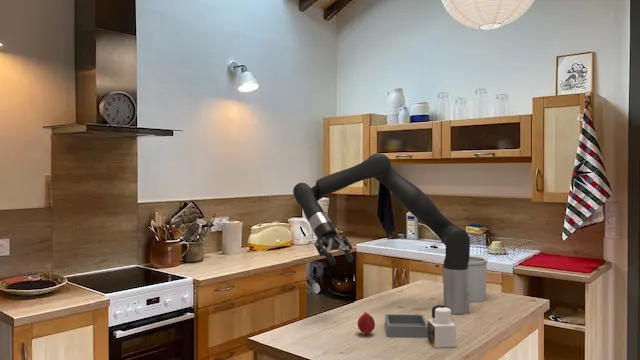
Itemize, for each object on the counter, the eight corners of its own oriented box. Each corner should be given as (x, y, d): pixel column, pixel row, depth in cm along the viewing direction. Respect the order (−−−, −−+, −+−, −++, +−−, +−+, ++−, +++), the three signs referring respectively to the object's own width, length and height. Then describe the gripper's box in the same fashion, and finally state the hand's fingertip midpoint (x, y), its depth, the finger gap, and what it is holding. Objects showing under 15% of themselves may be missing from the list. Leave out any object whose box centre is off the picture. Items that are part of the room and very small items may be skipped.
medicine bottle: (427, 340, 162) (427, 304, 162) (448, 339, 163) (448, 303, 163) (434, 348, 155) (434, 310, 155) (456, 347, 156) (456, 309, 156)
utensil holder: (492, 303, 206) (492, 261, 206) (456, 303, 207) (456, 261, 206) (481, 293, 221) (481, 255, 221) (447, 293, 221) (447, 255, 221)
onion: (376, 332, 170) (376, 309, 169) (372, 338, 164) (372, 314, 164) (360, 331, 171) (360, 308, 171) (355, 336, 166) (355, 313, 166)
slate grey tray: (422, 324, 178) (422, 314, 178) (428, 337, 165) (428, 326, 165) (385, 324, 179) (385, 314, 179) (387, 336, 166) (387, 326, 165)
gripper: (312, 221, 178) (332, 258, 170) (341, 219, 187) (362, 253, 179) (303, 235, 182) (322, 270, 174) (332, 231, 191) (352, 265, 183)
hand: (342, 262), depth 176 cm, fingers open, 8 cm apart
